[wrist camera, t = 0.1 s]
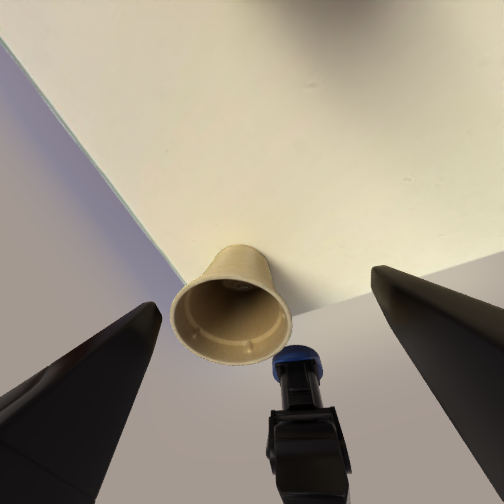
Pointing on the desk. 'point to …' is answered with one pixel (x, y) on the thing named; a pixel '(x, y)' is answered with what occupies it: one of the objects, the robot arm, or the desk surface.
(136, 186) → the desk surface
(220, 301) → the flower pot
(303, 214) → the desk surface
